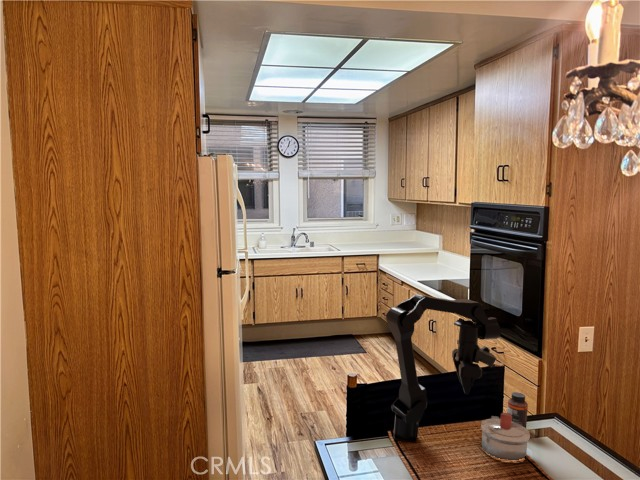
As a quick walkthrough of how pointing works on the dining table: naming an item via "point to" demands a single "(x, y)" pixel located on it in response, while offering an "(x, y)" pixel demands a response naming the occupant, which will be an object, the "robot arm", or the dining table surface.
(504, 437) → the lid
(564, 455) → the dining table surface
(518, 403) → the supplement bottle
